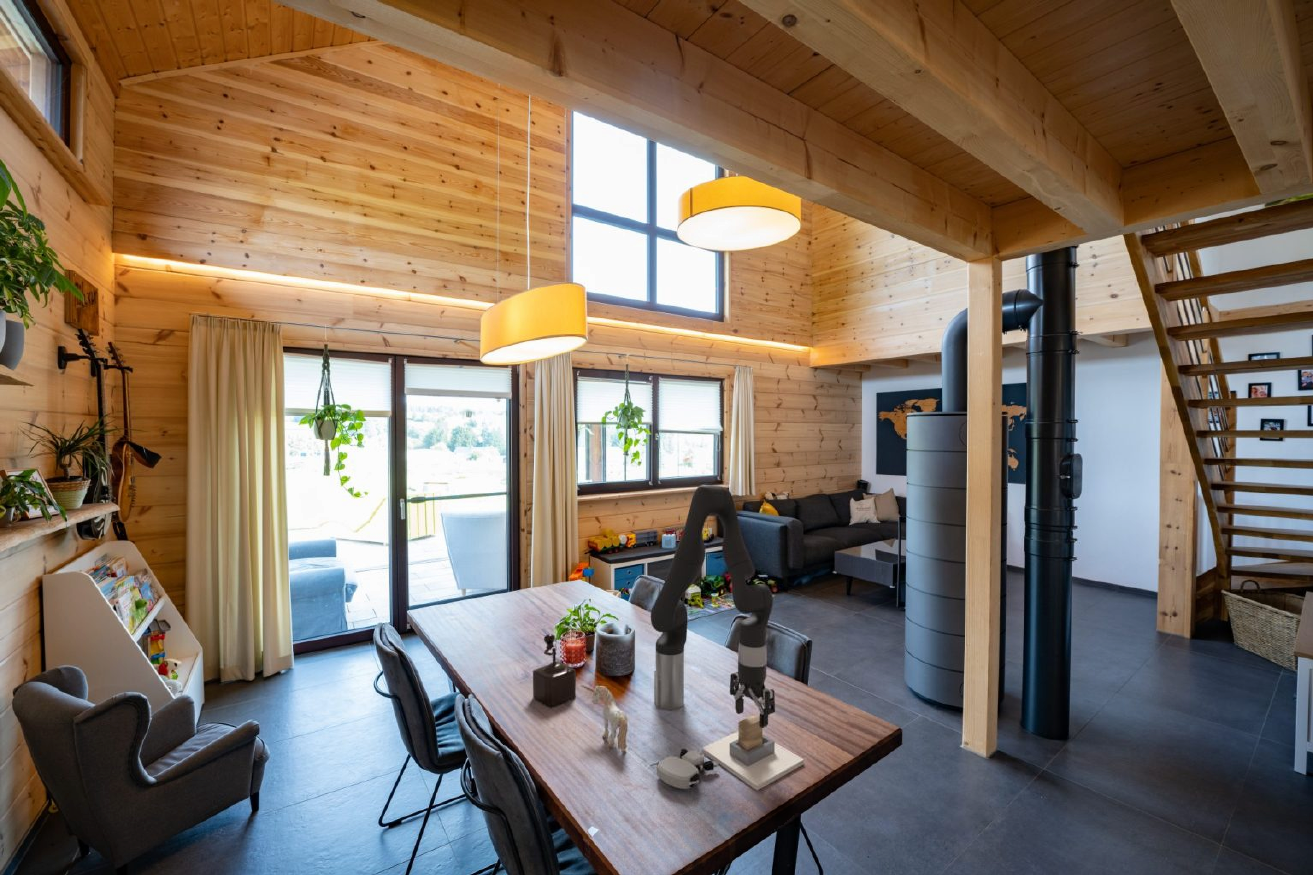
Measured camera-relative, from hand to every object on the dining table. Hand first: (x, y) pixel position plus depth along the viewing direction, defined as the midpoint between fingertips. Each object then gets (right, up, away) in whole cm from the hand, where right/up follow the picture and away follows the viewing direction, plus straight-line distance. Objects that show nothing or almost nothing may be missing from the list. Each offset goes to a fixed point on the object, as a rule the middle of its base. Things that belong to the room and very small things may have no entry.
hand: (751, 719), depth 145 cm
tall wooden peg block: (0, -9, 0) cm, 9 cm away
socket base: (0, -10, 0) cm, 10 cm away
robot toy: (-18, -11, -8) cm, 23 cm away
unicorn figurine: (-41, -10, +7) cm, 43 cm away
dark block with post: (-61, -10, +35) cm, 71 cm away
